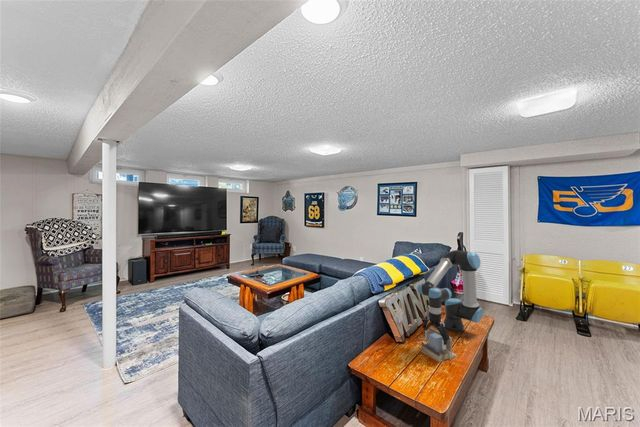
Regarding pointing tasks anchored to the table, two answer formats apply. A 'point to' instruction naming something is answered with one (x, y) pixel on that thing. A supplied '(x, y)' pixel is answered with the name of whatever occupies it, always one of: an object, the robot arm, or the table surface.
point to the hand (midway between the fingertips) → (435, 344)
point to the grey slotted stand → (439, 355)
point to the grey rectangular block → (435, 341)
